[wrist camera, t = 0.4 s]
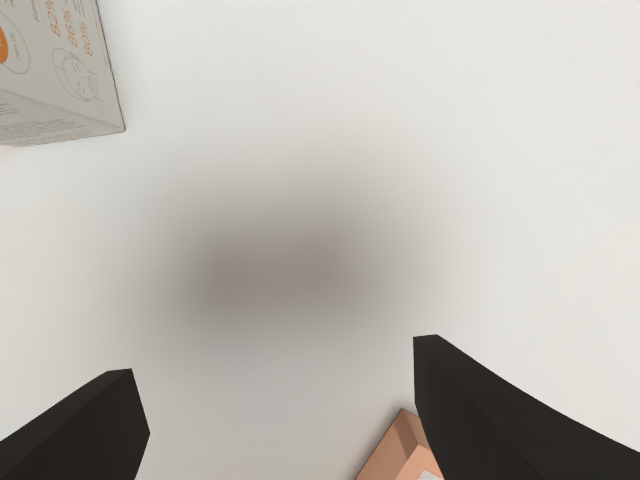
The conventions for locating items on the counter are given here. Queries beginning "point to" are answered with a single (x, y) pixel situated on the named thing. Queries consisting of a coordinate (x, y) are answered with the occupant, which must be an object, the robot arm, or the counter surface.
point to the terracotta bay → (401, 452)
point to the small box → (54, 73)
